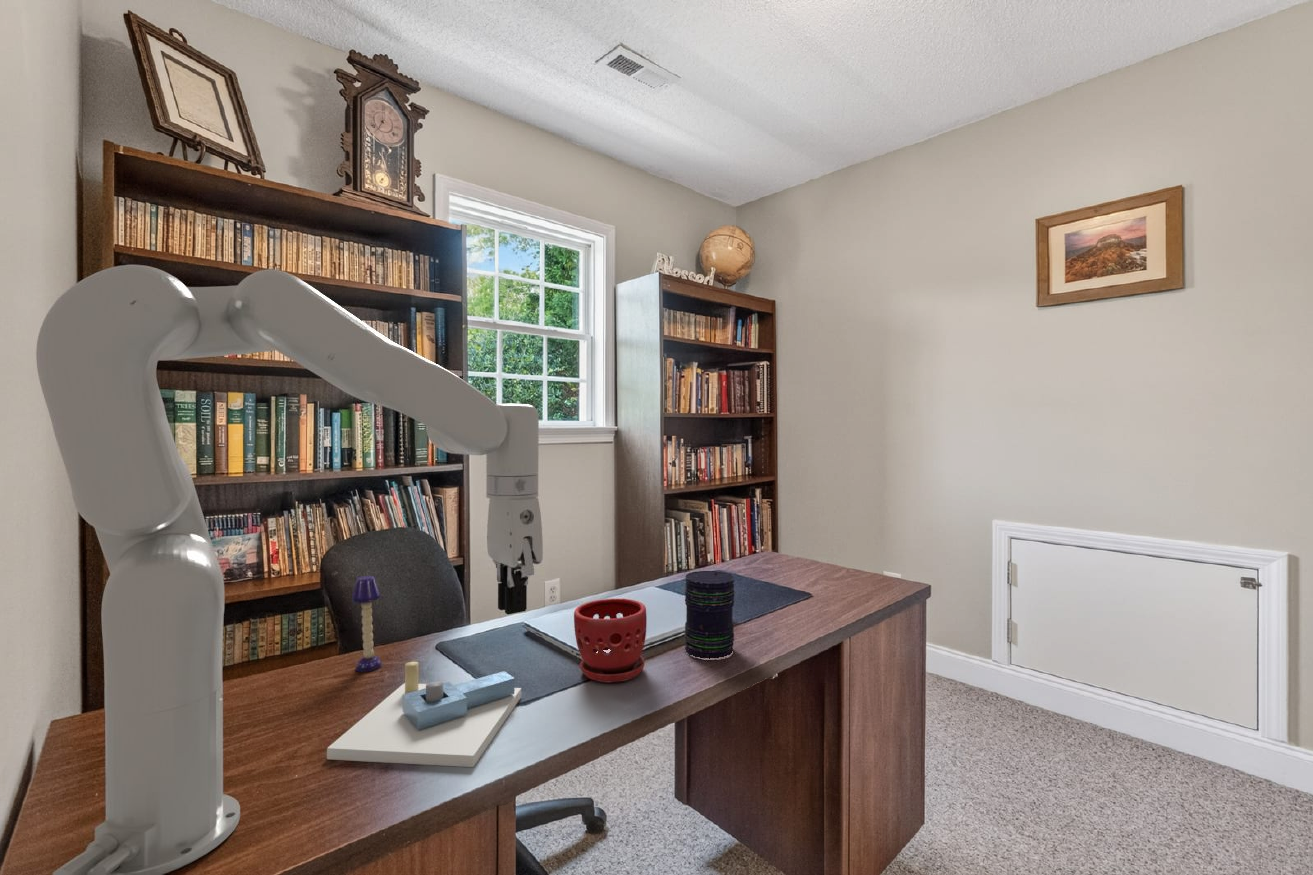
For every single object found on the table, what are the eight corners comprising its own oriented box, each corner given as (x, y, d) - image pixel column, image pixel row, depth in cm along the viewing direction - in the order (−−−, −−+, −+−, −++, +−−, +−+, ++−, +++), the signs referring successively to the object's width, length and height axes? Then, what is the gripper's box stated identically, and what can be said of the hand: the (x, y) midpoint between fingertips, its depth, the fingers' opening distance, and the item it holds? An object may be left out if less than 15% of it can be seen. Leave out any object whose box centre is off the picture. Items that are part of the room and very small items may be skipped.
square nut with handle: (418, 729, 81) (418, 712, 81) (402, 711, 87) (402, 694, 87) (519, 697, 91) (519, 681, 91) (499, 682, 97) (499, 667, 97)
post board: (473, 767, 76) (473, 721, 75) (327, 759, 77) (327, 714, 77) (521, 697, 95) (521, 660, 95) (404, 692, 97) (404, 656, 97)
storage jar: (720, 665, 109) (721, 585, 109) (675, 654, 114) (675, 578, 114) (741, 648, 118) (742, 574, 117) (698, 639, 123) (699, 568, 123)
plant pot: (623, 653, 114) (623, 593, 114) (660, 677, 104) (660, 610, 103) (562, 668, 107) (562, 603, 107) (594, 695, 96) (595, 623, 96)
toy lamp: (359, 675, 104) (359, 581, 104) (347, 668, 107) (347, 577, 106) (385, 666, 108) (385, 576, 107) (373, 660, 110) (373, 572, 110)
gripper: (561, 490, 83) (560, 619, 83) (513, 482, 95) (513, 594, 95) (511, 493, 78) (511, 630, 78) (468, 484, 90) (468, 602, 90)
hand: (512, 609), depth 87 cm, fingers closed
